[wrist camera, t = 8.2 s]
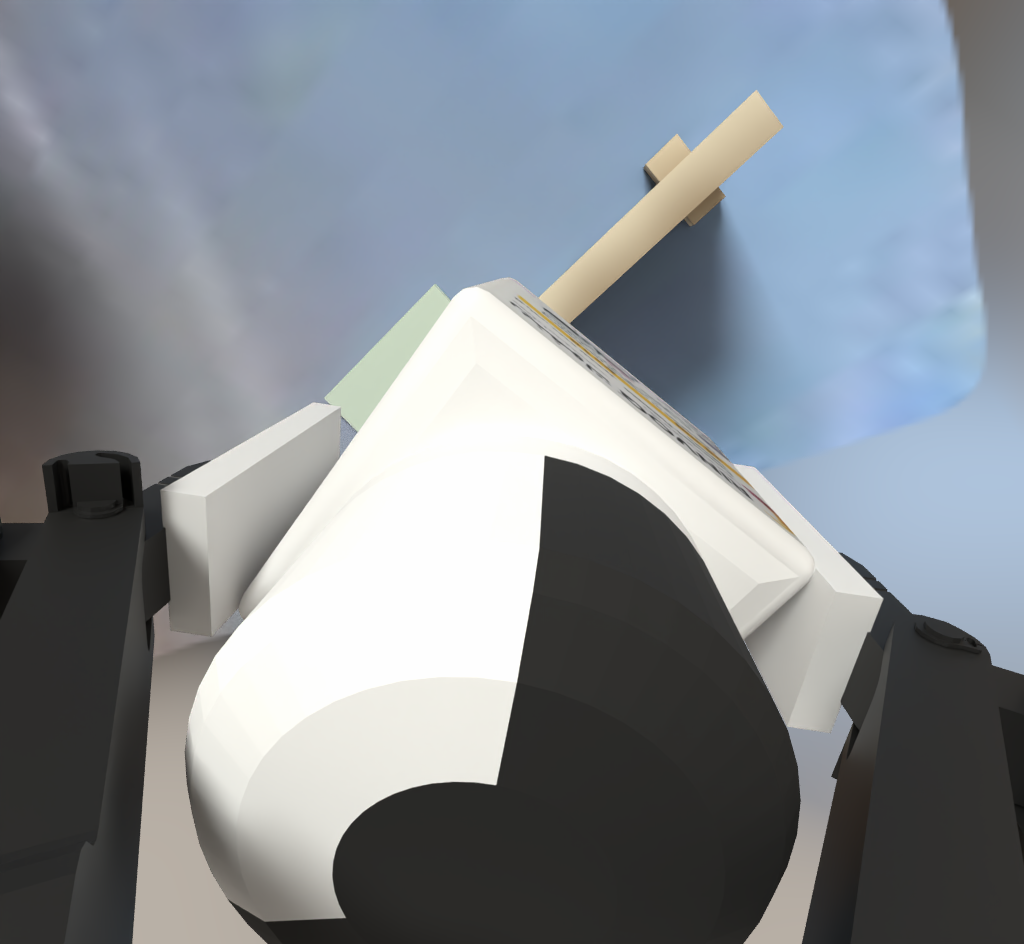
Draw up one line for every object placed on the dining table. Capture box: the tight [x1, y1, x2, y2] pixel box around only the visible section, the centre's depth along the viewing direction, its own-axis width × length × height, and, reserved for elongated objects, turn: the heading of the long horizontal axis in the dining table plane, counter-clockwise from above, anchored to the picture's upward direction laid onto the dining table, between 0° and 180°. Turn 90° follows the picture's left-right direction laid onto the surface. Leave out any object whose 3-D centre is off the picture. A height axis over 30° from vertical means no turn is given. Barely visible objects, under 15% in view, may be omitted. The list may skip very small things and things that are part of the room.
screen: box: [539, 90, 783, 324], centre depth 28 cm, size 4×14×11 cm, turn 133°
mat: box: [324, 284, 451, 432], centre depth 37 cm, size 10×10×1 cm
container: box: [185, 277, 815, 944], centre depth 12 cm, size 8×8×13 cm
